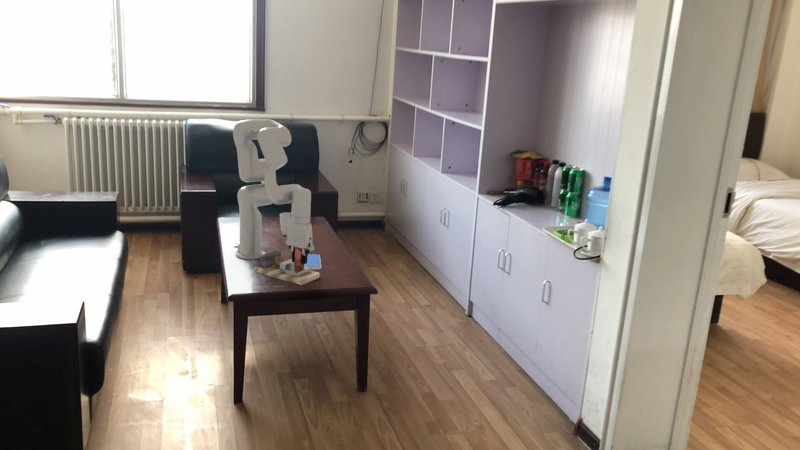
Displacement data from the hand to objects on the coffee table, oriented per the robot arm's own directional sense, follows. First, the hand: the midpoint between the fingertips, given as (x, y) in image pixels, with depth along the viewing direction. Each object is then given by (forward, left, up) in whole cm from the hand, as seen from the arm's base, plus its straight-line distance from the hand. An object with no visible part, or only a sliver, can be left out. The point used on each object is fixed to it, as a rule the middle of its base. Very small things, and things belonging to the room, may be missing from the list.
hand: (299, 262), depth 276 cm
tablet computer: (-10, +18, -8) cm, 22 cm away
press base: (-6, 0, -7) cm, 9 cm away
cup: (-43, +46, -7) cm, 63 cm away
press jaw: (-2, 0, -4) cm, 5 cm away
